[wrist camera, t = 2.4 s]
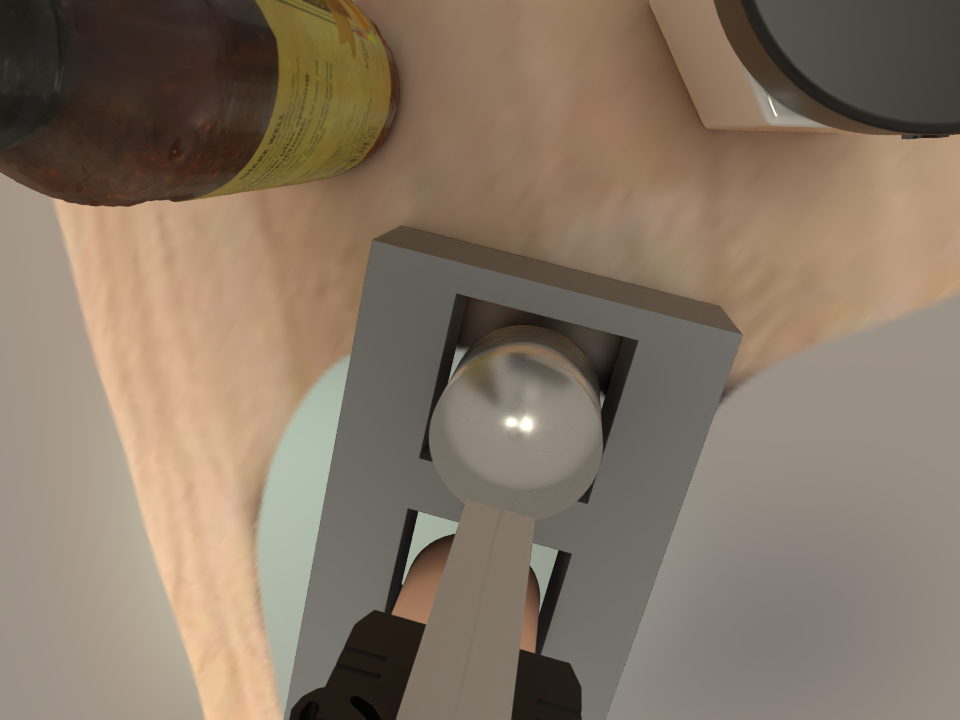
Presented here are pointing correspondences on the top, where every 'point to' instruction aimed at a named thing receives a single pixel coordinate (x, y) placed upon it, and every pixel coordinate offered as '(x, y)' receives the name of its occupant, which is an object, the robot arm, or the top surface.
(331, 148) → the sauce bottle
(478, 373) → the knob
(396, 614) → the middle knob
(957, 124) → the jar
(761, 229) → the top surface
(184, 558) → the top surface
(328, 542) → the knob mount
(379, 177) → the top surface
